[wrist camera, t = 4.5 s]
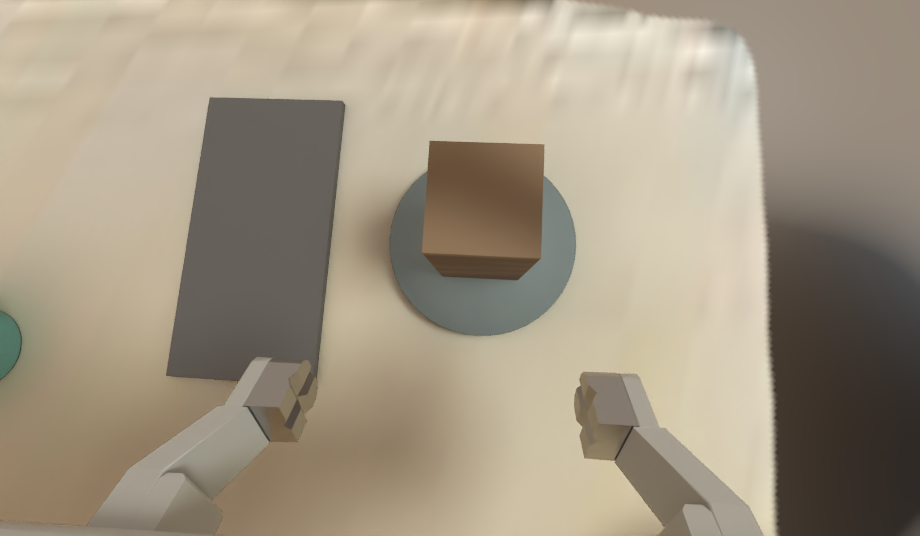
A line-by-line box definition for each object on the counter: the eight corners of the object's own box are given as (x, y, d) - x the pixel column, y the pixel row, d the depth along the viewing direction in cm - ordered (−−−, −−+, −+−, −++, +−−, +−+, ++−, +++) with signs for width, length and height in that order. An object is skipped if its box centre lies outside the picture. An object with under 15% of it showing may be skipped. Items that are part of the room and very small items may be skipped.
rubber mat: (315, 384, 22) (312, 386, 22) (172, 374, 23) (166, 375, 22) (345, 105, 24) (342, 100, 24) (215, 101, 25) (209, 97, 25)
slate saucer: (570, 340, 22) (585, 344, 19) (386, 329, 22) (371, 331, 19) (573, 163, 23) (588, 138, 20) (400, 157, 24) (388, 132, 21)
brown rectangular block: (517, 280, 21) (541, 258, 13) (442, 276, 22) (421, 252, 14) (520, 206, 22) (544, 144, 14) (447, 203, 22) (429, 141, 14)
